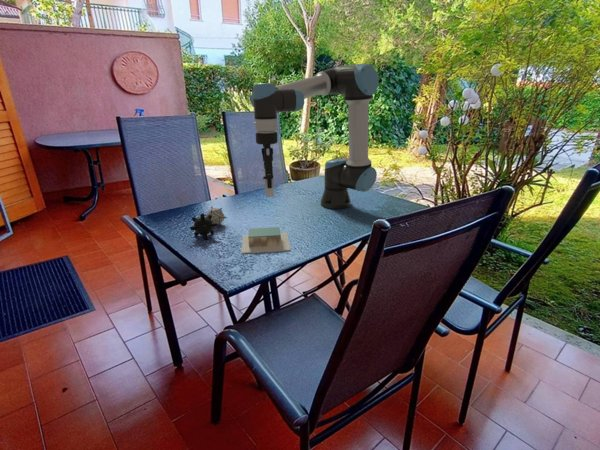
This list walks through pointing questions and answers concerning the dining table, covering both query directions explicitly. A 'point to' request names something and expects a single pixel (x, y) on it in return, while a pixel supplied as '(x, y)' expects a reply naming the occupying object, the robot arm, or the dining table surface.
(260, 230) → the green and tan block
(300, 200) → the dining table surface
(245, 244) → the mat
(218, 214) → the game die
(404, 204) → the dining table surface
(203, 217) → the toy ball
